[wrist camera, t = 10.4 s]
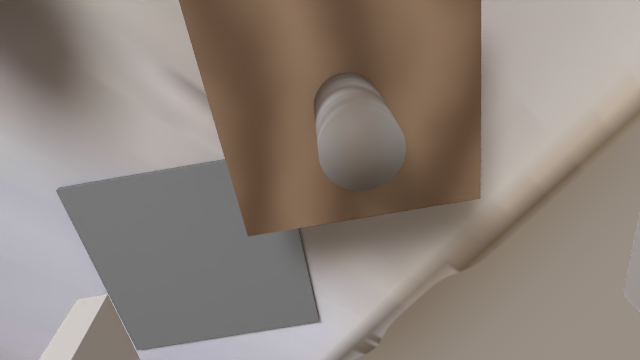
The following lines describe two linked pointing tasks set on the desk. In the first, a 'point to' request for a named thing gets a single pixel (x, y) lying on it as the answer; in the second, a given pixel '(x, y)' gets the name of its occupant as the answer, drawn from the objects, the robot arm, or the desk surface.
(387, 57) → the lid
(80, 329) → the robot arm
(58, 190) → the mat
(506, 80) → the desk surface
